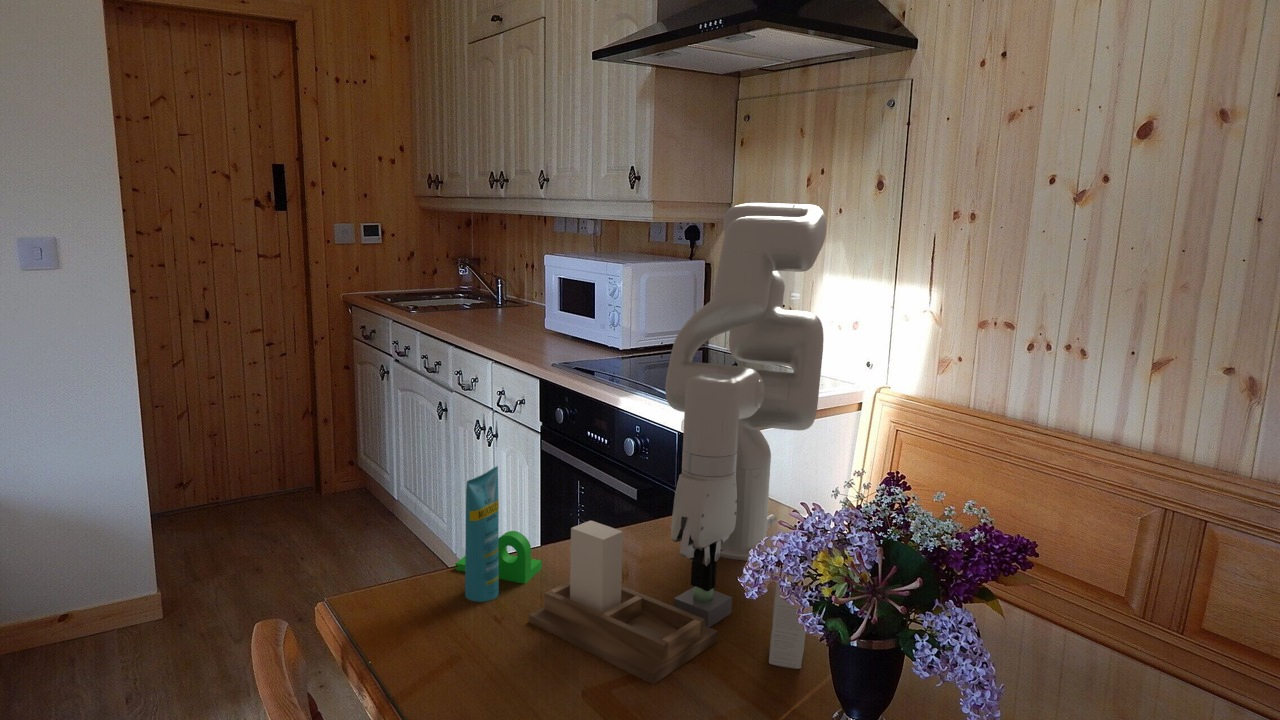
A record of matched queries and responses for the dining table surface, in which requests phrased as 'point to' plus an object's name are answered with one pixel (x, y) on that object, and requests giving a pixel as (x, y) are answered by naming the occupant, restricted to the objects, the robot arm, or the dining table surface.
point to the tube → (482, 537)
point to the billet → (596, 566)
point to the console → (705, 606)
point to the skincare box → (786, 635)
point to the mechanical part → (513, 559)
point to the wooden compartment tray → (628, 631)
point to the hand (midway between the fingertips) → (703, 586)
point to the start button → (703, 595)
